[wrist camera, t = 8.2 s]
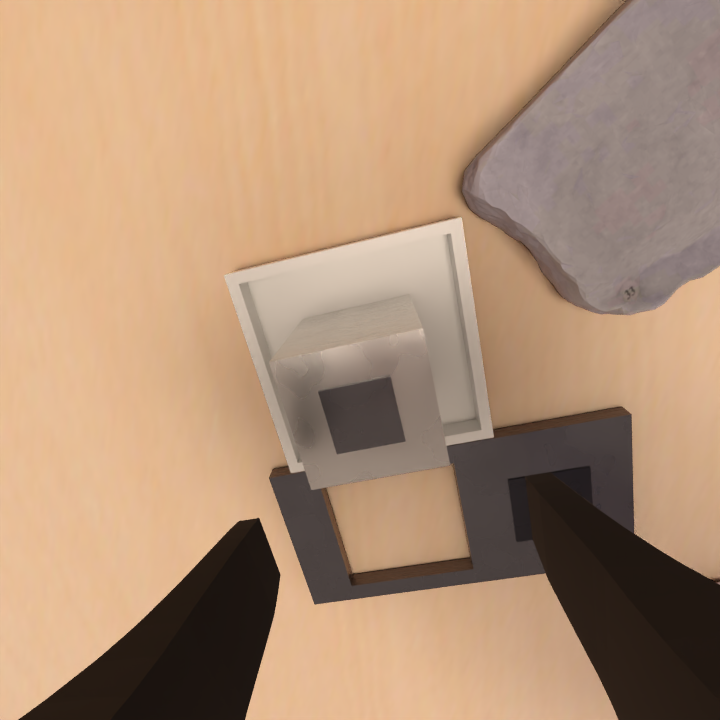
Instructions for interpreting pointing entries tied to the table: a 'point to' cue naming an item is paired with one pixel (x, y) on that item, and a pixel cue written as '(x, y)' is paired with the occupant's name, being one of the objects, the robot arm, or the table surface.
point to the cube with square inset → (361, 394)
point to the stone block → (617, 161)
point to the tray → (366, 285)
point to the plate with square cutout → (475, 505)
